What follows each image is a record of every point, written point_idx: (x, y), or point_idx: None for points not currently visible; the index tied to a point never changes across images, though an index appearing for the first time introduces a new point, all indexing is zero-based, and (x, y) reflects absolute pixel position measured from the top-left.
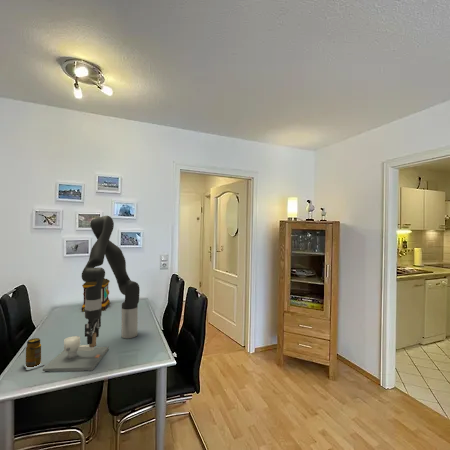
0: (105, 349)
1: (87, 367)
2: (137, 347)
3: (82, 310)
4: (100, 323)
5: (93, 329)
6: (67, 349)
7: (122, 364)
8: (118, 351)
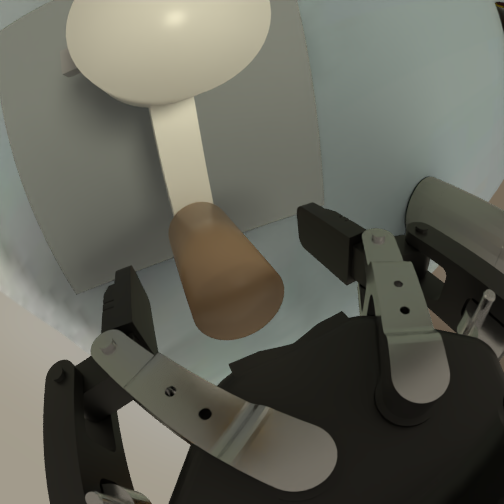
0: (293, 208)
1: (63, 271)
2: (331, 305)
3: (498, 3)
4: (431, 292)
5: (189, 442)
6: (62, 64)
7: (179, 354)
8: (296, 260)
